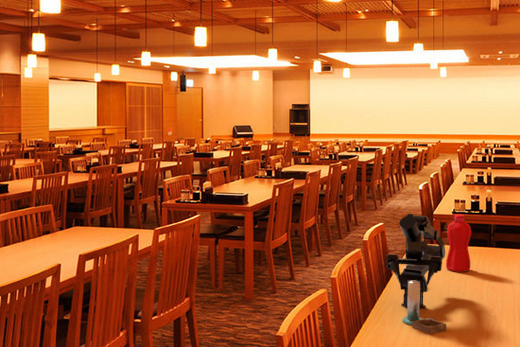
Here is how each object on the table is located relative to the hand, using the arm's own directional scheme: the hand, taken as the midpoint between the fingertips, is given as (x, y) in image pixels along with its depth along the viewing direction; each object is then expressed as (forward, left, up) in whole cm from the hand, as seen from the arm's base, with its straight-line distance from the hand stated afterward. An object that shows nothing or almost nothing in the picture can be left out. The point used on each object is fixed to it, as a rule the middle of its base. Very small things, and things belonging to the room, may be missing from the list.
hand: (413, 283), depth 220 cm
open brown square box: (+2, +10, -12) cm, 16 cm away
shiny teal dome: (+2, +3, -12) cm, 13 cm away
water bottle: (-64, -44, -13) cm, 78 cm away
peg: (+2, +3, -12) cm, 12 cm away
